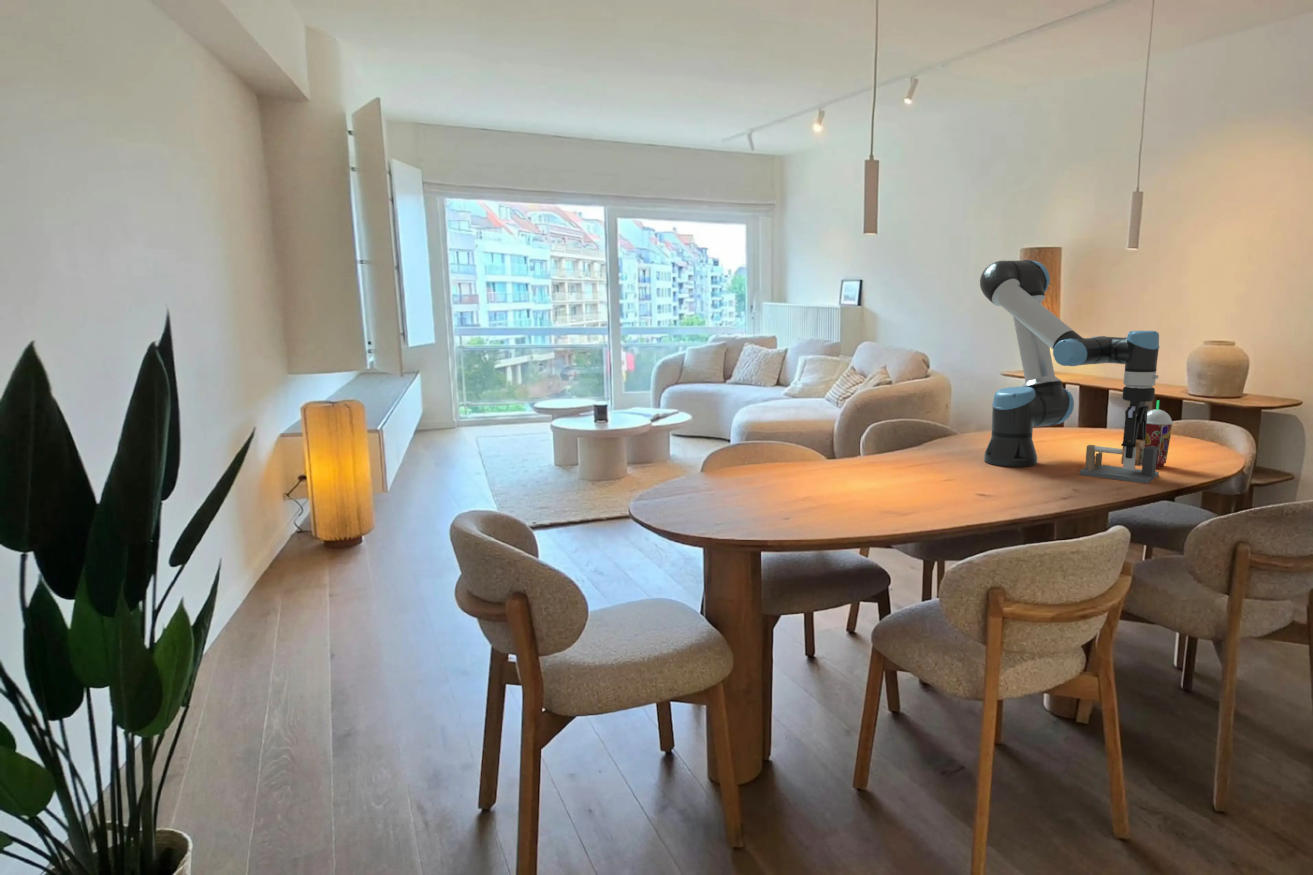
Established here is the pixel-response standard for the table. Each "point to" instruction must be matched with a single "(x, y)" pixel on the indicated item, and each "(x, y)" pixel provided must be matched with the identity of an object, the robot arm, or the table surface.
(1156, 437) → the smoothie
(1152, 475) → the peg stand base
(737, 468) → the table surface
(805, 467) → the table surface
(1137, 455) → the sleeve
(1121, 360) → the robot arm
